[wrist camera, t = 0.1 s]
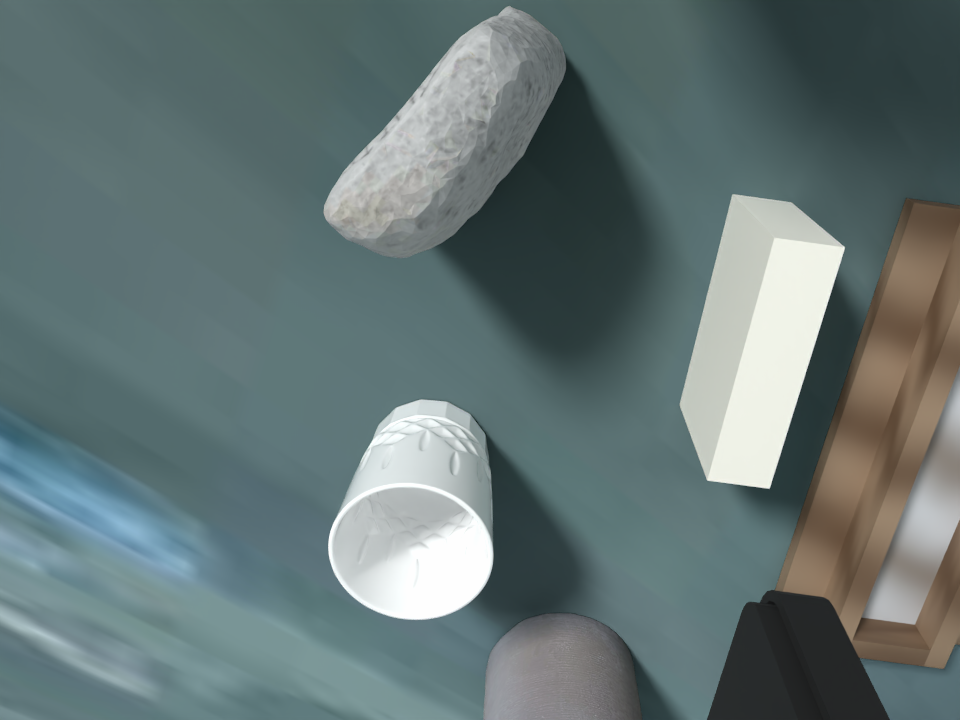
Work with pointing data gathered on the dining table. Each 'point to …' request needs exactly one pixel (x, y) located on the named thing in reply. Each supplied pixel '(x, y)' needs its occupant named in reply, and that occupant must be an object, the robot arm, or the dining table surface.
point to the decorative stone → (450, 139)
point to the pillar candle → (561, 672)
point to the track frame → (894, 460)
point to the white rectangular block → (756, 337)
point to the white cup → (417, 515)
